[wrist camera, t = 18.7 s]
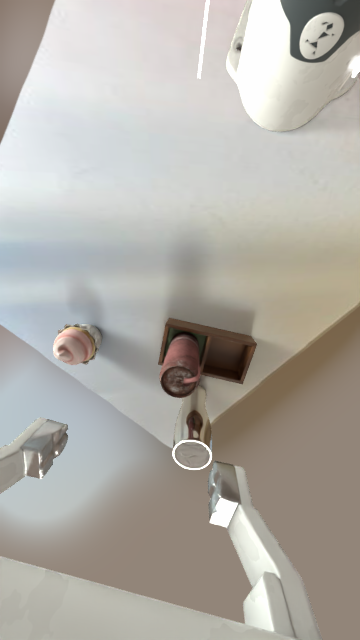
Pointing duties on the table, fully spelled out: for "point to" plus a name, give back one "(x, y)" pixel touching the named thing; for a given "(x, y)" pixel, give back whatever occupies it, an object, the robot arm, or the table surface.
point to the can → (181, 366)
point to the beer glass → (193, 432)
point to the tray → (214, 350)
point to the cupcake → (77, 344)
